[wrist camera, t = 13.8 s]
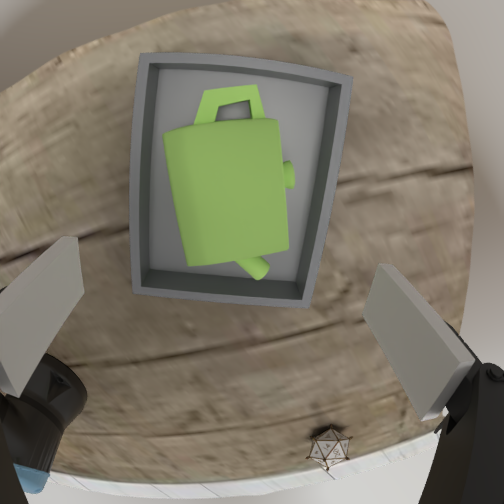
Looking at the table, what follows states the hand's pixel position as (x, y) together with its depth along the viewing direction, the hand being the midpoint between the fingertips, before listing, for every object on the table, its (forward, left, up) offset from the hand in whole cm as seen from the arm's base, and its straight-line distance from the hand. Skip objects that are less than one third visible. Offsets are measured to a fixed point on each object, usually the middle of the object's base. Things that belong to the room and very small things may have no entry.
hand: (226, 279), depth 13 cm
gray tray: (0, 0, -21) cm, 21 cm away
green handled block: (+1, 0, -21) cm, 21 cm away
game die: (+22, -45, -22) cm, 54 cm away
